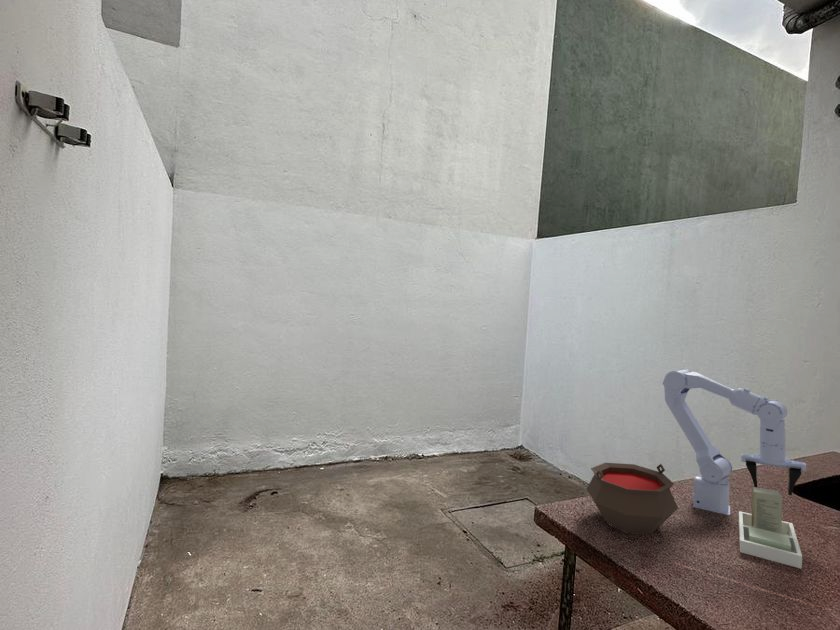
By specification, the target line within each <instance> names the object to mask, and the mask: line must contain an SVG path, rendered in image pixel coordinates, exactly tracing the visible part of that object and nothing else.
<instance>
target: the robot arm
mask: <svg viewBox="0 0 840 630" xmlns="http://www.w3.org/2000/svg"><path fill="white" fill-rule="evenodd" d="M662 385H663V387H664V401H665V404H666V405H667V407H668V408H669V410H670V412H671V414H672V415H673V416H674V419H675V420H676V422H677V424H678V425H679V427H680V428H681V430H682V432H683V433H684V436H685V437H686V439H687V440H688V442H689V443H690V445H691V446H692V449H693V450H694V452H695V455H696V456H695V459H696V463H697V465H698V467H699V474H700V475H701V476H697V475H695V476H694V477H693V479H694V481H693V493H692V500H693V502H692V503H693V505H692V507H693V508H697V509H701V510H703V511H709V512H713V513H717V514H720V515H721V514H722V515H726V516H731V505H729V503H730V479H729V477H728V476H729V475H731V474H732V471H733V465H732V463H731V461H730V460H729V459H728V458H727V457H726V456H724V455H723V454H722V453H721V451H720V450H719V448H718V449H717V448H716V447H715V446H714V445H713V444H712V442H711V440H710V439H709V437H708V436H707V434H706V433H705V431H704V430H703V428H702V426H701V425H700V423H699V421H698V419H697V418H696V416H695V415H694V413H693V412H692V410H691V408H690V407H689V405H688V403H687V402H686V398H687V395H688V393H689V391H690V390H692V389H702V390H705V391H707V392H709V393H712V394H715V395H718V396H719V397H720V396H721V397H723V398H725V399H728V401H729V402H730V404H731V405H732V406H734V407H736V408H738V409H740V410H743V411H745V412H747V413H749V414H752V415H754V416H757V417H758V418H759V421H760V422H759V423H760V426H759V454H751V453H750V454H748V453H741V454H740V455H741V456H740V457H741V460H740V462H741V463H742V462H743V463H745V466H746V468H747V471H748V472H749V474H750V477H751V479H752V482H753V487H758V481H757V480H758V478H757V464H760V465H766V466H772V467H779V468H785V469H788V485H787V494H788V495H789V496H793V491H794V488H795V485H796V484H797V481H798V480H799V479H800V477H801V475H802V472H807V463H806V462H802V461H797V460H792V459H789V458H788V459H787V458H786V428H785V427H786V423H785V418H786V417H787V415H788V409H787V407H786V406H785V404H783V403H782V402H781V401H779V400H777V399H769V398H770V397H768V396H766V395H765V396H761V395H759V394H757V393H754V392H751V388H748V387H744V388H742V387H738V388H735V389H733V388H731V387H729V386H727V385H725V384H722V383H720V382H718V381H717V380H714V379H712V378H710V377H707V376H706V375H703V374H701V373H699V372H696V371H692V370H690V369H687V368H682V369H679V370H672V371H669V372H668V373H667V374H665V376H664V379H663V381H662Z"/></svg>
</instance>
